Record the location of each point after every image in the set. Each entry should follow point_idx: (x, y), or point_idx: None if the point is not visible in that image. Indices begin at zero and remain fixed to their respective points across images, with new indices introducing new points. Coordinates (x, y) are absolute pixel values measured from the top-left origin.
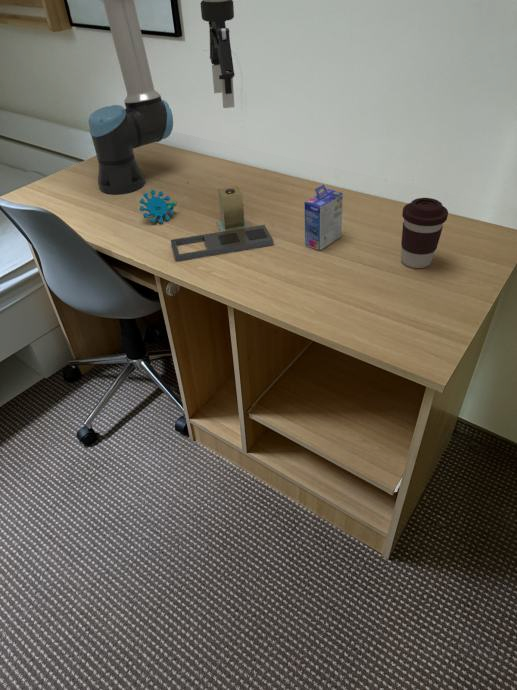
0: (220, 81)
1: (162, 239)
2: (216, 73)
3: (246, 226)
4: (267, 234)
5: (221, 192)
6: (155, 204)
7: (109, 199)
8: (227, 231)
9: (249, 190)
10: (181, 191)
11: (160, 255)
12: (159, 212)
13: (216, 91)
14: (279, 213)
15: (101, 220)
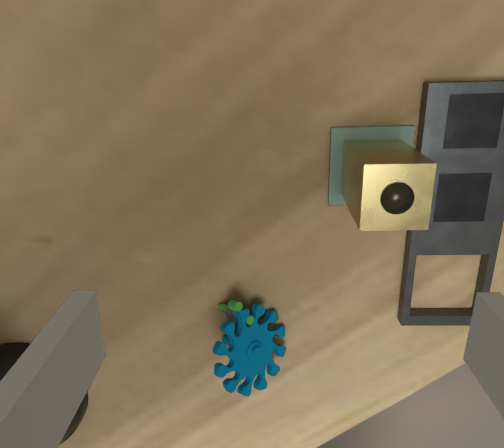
0: (67, 363)
1: (362, 332)
2: (39, 441)
3: (391, 132)
4: (491, 89)
5: (391, 225)
6: (252, 356)
7: (112, 417)
8: None
9: (138, 66)
10: (100, 263)
11: (434, 342)
12: (265, 340)
13: (101, 350)
14: (338, 6)
15: (220, 434)
